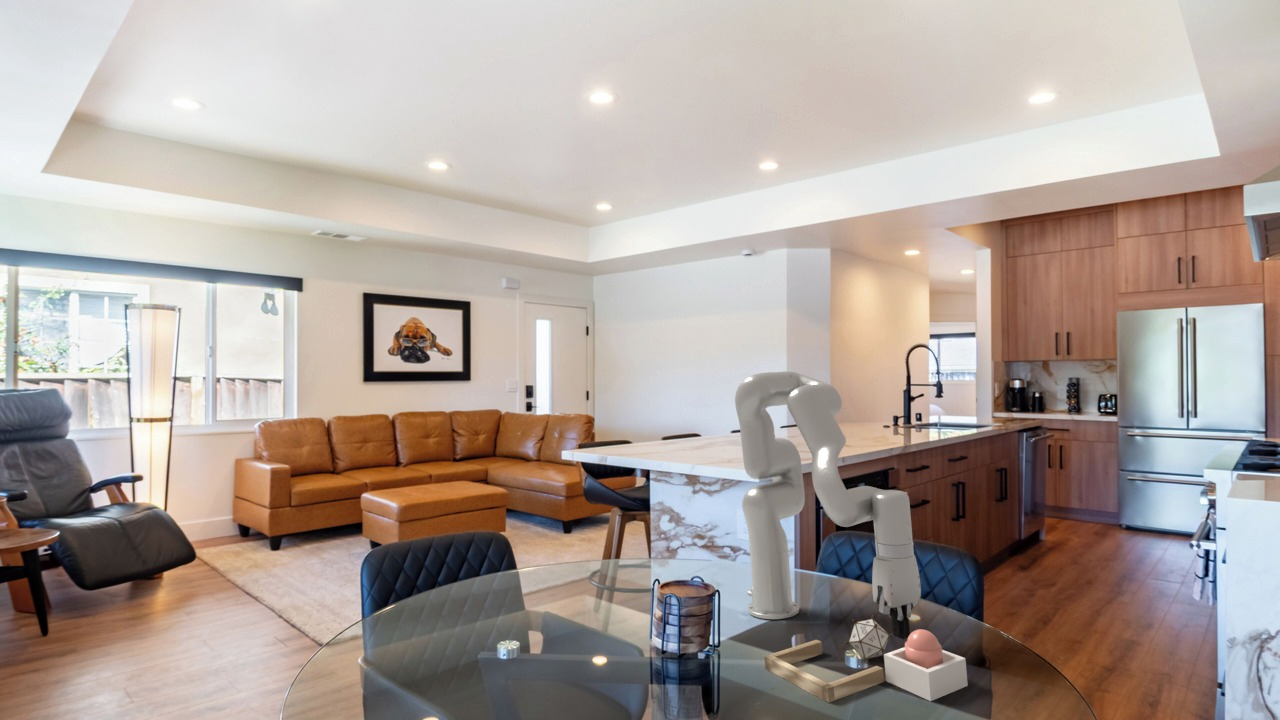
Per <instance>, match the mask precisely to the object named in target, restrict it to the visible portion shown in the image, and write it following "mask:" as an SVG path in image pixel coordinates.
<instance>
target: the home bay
mask: <svg viewBox="0 0 1280 720" xmlns="http://www.w3.org/2000/svg"><path fill="white" fill-rule="evenodd" d="M819 655H823V642H822V641H821V640H818V639H814V640H811V641H808V642H805V643H802V644H799V645H796V646H793V647H790V648H786V649H783V650H780V651H777V652H773V653H769V654H767V655H765V656H764V655H763V656H764V669H765V670H767V671H769V672H771V673H772V674H774V675H776V676H778V677H780V678H782V679H783V680H785V681H787V682H790V683H791V684H793V685H795V686H796V687H798V688H800V689H802V690H804V691H806V692H808V693H810V694H811V695H813V696H815V697H816V698H819V699H820V700H823V701H824V702H826V703H828V704H830V703H832V702H835V701H837V700H839V699H842V698H845V697H847V696H850V695H853V694H856V693H858V692H859V693H860V692H861V691H864V690H866V689H869V688H871V687H874V686H876V685H880V684H883V683H884V682H885V678H884V677H885V676H884V668H883V667H881V666H878V665H875V666H872V667H870V668H867V669H864V670H861V671H859V672H856V673H852V674H850V675H848V676H845V677H842V678H839V679H837V680H834V681H831V682H829V683H828V682H826V681H824V680H821V679H820V678H819V677H816V676H814V675H812V674H810V673H808V672H806V671H804V670H802V669H800V668H798V667H796V666H794V665H792V664H795V663H799V662H802V661H804V660H808V659H812V658H813V657H817V656H819Z"/></svg>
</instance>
